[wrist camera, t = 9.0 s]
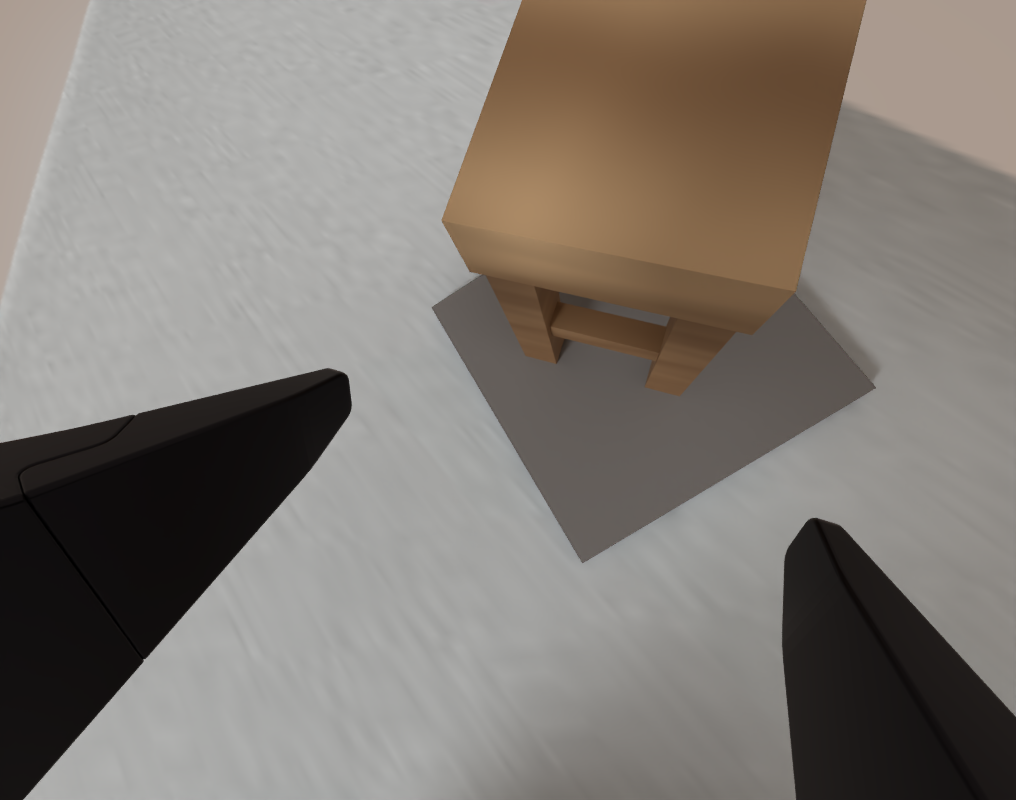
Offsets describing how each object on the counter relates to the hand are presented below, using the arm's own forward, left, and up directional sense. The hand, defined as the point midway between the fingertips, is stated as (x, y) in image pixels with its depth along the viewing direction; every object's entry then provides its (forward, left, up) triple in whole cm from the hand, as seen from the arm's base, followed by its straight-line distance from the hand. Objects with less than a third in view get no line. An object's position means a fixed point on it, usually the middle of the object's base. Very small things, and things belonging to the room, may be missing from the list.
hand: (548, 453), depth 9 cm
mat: (+3, -4, -8) cm, 10 cm away
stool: (+4, -5, -7) cm, 10 cm away
